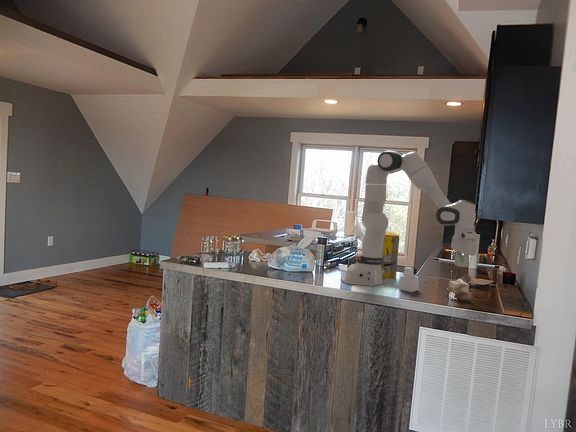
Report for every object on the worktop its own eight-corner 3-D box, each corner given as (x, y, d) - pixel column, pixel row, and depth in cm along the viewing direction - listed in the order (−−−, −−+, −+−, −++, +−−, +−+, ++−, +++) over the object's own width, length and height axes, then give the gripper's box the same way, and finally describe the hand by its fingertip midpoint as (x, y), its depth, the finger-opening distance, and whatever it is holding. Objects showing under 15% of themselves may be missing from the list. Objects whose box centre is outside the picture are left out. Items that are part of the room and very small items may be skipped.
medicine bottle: (405, 287, 247) (407, 265, 246) (418, 290, 243) (420, 267, 242) (399, 289, 242) (401, 266, 241) (412, 292, 237) (414, 269, 236)
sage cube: (458, 266, 228) (459, 256, 228) (454, 264, 233) (455, 254, 233) (468, 267, 228) (469, 256, 228) (464, 265, 233) (465, 255, 233)
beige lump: (452, 299, 228) (453, 291, 228) (447, 296, 235) (448, 288, 235) (466, 300, 229) (467, 292, 228) (460, 297, 236) (461, 289, 235)
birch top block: (454, 291, 228) (454, 283, 228) (448, 288, 235) (449, 280, 235) (468, 292, 228) (469, 284, 228) (462, 289, 235) (463, 281, 235)
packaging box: (395, 279, 268) (399, 235, 266) (367, 277, 269) (370, 233, 267) (390, 273, 285) (393, 232, 283) (363, 271, 285) (366, 230, 283)
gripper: (449, 230, 239) (446, 257, 241) (467, 235, 219) (464, 265, 220) (461, 231, 240) (458, 258, 241) (480, 236, 220) (477, 265, 221)
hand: (461, 261), depth 231 cm, fingers closed on sage cube, 5 cm apart
